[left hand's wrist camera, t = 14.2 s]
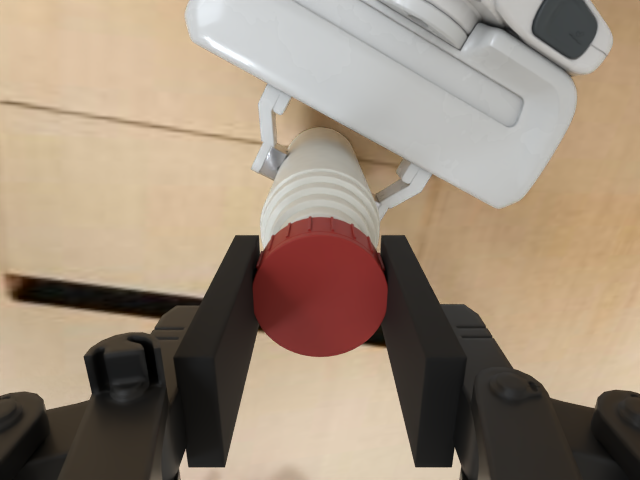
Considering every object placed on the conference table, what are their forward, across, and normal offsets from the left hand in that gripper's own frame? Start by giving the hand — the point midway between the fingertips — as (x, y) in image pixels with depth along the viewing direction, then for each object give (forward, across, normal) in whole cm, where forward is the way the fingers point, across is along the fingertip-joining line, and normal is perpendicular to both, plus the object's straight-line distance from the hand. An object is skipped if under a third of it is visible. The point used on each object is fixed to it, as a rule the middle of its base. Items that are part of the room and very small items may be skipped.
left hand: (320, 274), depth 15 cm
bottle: (+19, 0, 0) cm, 19 cm away
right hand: (+12, 0, -1) cm, 12 cm away
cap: (-1, 0, 0) cm, 1 cm away
